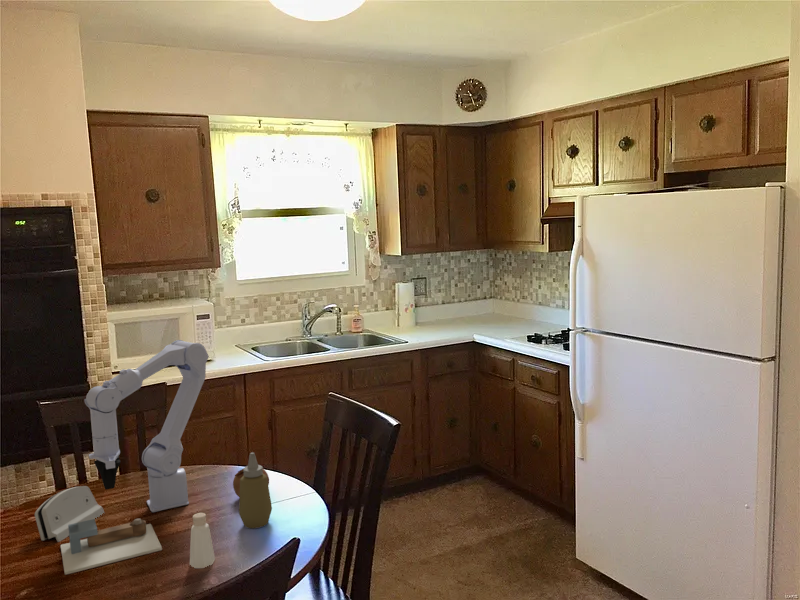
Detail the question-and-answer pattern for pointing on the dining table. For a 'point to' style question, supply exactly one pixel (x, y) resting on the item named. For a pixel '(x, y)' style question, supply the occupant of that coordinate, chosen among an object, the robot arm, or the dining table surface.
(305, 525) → the dining table surface
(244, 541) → the dining table surface
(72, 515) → the white rounded block
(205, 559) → the pepper shaker
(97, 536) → the link arm
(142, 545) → the keeper board
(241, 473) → the onion
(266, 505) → the squeeze bottle
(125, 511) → the dining table surface
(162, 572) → the dining table surface
